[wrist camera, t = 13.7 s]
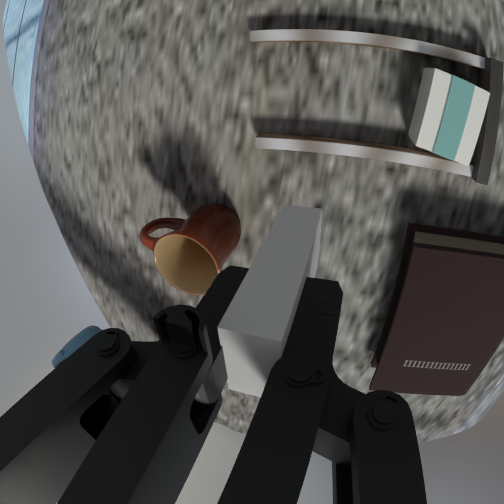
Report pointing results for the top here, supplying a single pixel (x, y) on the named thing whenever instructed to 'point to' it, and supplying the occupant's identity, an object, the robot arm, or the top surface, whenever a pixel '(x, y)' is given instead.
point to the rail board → (478, 167)
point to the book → (442, 313)
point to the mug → (193, 246)
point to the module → (448, 115)
